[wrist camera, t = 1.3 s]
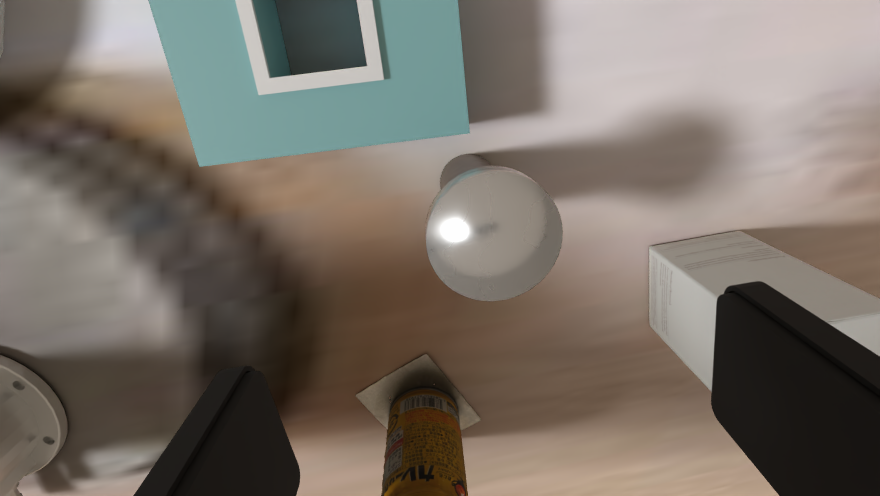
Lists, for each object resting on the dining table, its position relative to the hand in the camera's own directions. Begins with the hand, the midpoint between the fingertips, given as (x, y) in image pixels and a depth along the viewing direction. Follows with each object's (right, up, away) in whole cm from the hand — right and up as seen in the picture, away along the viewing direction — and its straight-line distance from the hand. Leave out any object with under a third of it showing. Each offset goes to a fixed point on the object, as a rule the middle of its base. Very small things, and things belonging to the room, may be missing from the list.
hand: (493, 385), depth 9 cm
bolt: (+1, +7, +23) cm, 24 cm away
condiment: (-3, -11, +30) cm, 32 cm away
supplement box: (+19, 0, +27) cm, 33 cm away
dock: (-8, +17, +19) cm, 27 cm away
